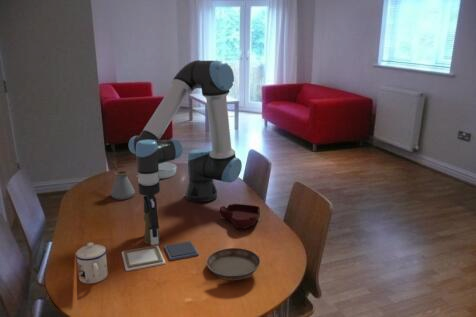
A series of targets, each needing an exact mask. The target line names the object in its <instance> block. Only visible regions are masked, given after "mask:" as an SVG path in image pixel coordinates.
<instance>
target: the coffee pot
mask: <svg viewBox="0 0 476 317" xmlns="http://www.w3.org/2000/svg"><path fill="white" fill-rule="evenodd" d="M111 165H113V167H114V169H115V172H114V176H115V180H114V183H113V185H112V188H111V190H110V192H109V194H110V196H111V198H113V199H115V200H118V201H119V200H120V201H122V200H129V199H131V198H133V196H134V195H135V193H136V191H135V189H134V187H133V184H132V183H131V181H130V179H129V177H128V175H129V171H127V170H119V169H118V166H117V165H116V161H114V160H112V162H111Z"/></svg>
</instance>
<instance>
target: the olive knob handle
mask: <svg viewBox="0 0 476 317" xmlns="http://www.w3.org/2000/svg"><path fill="white" fill-rule="evenodd" d="M143 220H144V222H146V223H145V224H144V225H145V226H144V228H145V229H144V239H143V240H144V241H143V242H144V243H146V244H150V245H151V236H150V230H149V228H150V227H151V226H150V219H149V212H148V213H146V214H145V213H144V216H143ZM158 240H159V242H160V241H161V236H160V231H159V229H158Z"/></svg>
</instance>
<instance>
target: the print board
mask: <svg viewBox="0 0 476 317" xmlns="http://www.w3.org/2000/svg"><path fill="white" fill-rule="evenodd" d="M121 256H122V260H123V265H124V268H125V272H130V271H135V270H139V269H140V270H141V269H144V268H145V269H146V268H150V267H157V266H161V265H166V260H165V258H164V255H163V254H162V251H161V249H160V247H159V245H158V244H155V245H149V246H143V247H138V248H132V249H126V250H123V251H121Z"/></svg>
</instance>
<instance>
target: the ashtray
mask: <svg viewBox="0 0 476 317" xmlns="http://www.w3.org/2000/svg"><path fill="white" fill-rule="evenodd" d="M218 212H219V215H220V217H221V218H223V219H224V220H225V219H227V220H226V221H230V222H231V223H232V225H233V226H234V227H235V228H236V229H237V230H239V231H241V230H245V229H246V228H249V227H251V226H254V225H255V223H256V222H257V221H258V220H259V218H260V217H261V207H260V206H257V205H252V204H251V205H250V204H244V203H243V204H242V203H231V204H229V205H228V206H227V207H226V206H225V205H221V206H220V207H219V211H218Z"/></svg>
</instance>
